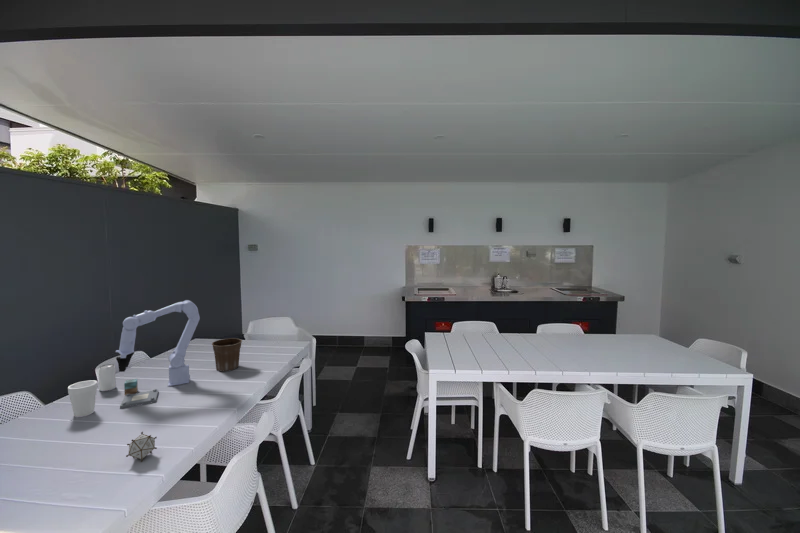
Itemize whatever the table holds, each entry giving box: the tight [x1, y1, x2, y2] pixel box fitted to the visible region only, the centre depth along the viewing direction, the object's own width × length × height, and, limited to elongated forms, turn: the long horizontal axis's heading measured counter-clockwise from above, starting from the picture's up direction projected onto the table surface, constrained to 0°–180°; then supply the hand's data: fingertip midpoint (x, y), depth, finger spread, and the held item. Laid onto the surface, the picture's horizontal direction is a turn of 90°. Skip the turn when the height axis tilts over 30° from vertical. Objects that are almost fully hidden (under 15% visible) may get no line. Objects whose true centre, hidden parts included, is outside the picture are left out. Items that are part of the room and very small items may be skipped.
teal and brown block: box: [123, 378, 139, 396], centre depth 168 cm, size 4×4×6 cm
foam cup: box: [67, 379, 99, 418], centre depth 146 cm, size 10×9×13 cm
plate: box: [119, 388, 159, 409], centre depth 160 cm, size 13×13×2 cm
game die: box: [125, 431, 158, 463], centre depth 116 cm, size 9×8×10 cm
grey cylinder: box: [98, 363, 117, 392], centre depth 172 cm, size 6×6×12 cm
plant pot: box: [211, 337, 243, 372], centre depth 203 cm, size 16×16×16 cm
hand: (123, 369), depth 166 cm, fingers open, 7 cm apart
